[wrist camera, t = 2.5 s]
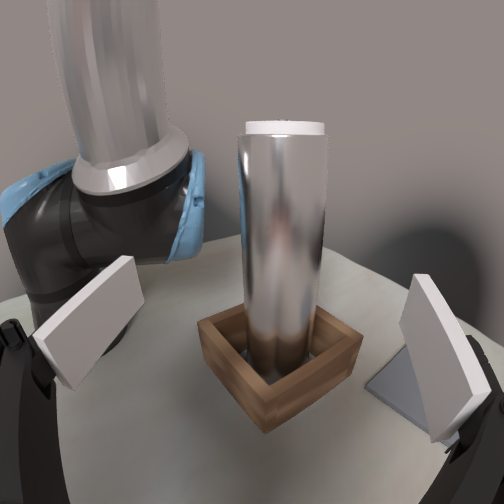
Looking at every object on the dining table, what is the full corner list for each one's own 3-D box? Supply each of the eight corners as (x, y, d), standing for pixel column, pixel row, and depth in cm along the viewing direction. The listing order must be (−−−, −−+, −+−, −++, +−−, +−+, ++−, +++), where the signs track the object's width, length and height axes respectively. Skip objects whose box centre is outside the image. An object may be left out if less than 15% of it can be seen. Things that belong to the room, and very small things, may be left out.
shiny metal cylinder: (268, 342, 33) (268, 120, 22) (315, 362, 29) (340, 122, 18) (236, 375, 28) (217, 120, 17) (287, 401, 25) (305, 118, 14)
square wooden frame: (204, 359, 30) (196, 321, 28) (284, 322, 36) (286, 285, 34) (264, 434, 21) (265, 402, 19) (351, 373, 27) (363, 336, 25)
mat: (364, 388, 25) (366, 385, 25) (417, 333, 32) (419, 330, 31) (451, 449, 15) (454, 446, 15) (488, 375, 22) (490, 372, 22)
